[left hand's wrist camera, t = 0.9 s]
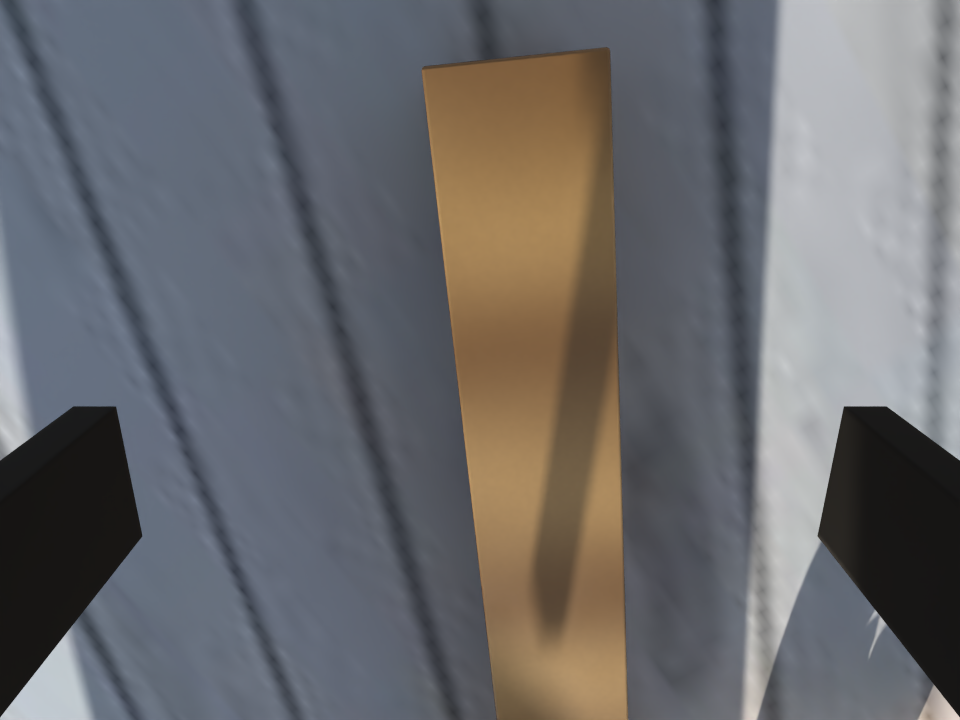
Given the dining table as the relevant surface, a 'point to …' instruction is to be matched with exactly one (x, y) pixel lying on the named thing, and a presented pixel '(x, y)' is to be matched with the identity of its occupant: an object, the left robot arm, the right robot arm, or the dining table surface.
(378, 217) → the dining table surface
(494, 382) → the bar
